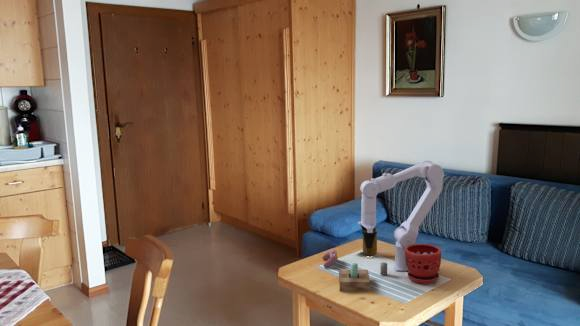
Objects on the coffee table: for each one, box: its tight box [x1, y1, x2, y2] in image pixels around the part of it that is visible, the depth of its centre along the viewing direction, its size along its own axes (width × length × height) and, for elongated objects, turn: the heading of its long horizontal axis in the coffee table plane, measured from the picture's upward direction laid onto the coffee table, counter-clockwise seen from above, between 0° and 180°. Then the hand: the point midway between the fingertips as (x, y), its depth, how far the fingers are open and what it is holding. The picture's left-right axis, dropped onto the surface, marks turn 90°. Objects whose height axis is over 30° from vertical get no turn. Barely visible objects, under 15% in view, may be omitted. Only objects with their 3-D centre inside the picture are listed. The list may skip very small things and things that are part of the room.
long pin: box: [350, 262, 359, 278], centre depth 179 cm, size 3×3×8 cm
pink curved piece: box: [322, 248, 338, 269], centre depth 200 cm, size 10×5×7 cm, turn 0°
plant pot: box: [405, 243, 442, 284], centre depth 182 cm, size 13×13×12 cm
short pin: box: [379, 262, 388, 277], centre depth 187 cm, size 3×3×4 cm
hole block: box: [338, 269, 371, 292], centre depth 179 cm, size 11×11×4 cm
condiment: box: [355, 226, 381, 260], centre depth 209 cm, size 7×8×12 cm
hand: (368, 244), depth 191 cm, fingers open, 7 cm apart
